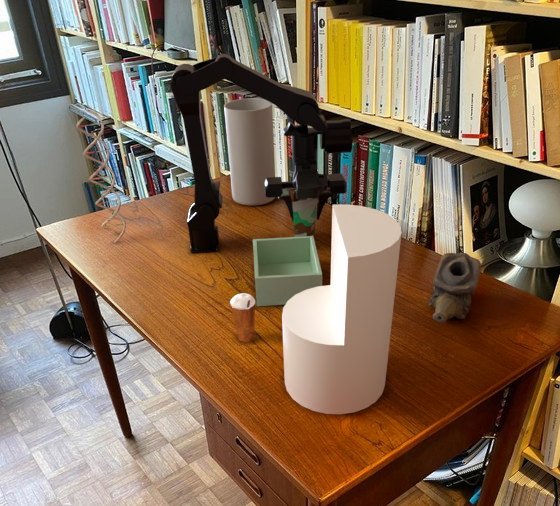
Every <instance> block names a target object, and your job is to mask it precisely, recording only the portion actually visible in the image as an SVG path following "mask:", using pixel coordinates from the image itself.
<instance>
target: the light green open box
mask: <svg viewBox="0 0 560 506" xmlns="http://www.w3.org/2000/svg"><path fill="white" fill-rule="evenodd" d="M252 245H253V247H252V249H253V266H254V267H253V268H254V271H253V272H254V287H255V302H256V307H266V306H267V307H269V306H270V307H271V306H283V305H284V306H285V304H286V303H287V301H288V300H290V299H291V298H292V297H293V296H294V295H296V294H298V293H300V292H302V291H304V290H307V289H310V288H314V287H318V286H323V272H322V266H321V263H320V262H321V261H320V259H319V254H318V250H317V245H316V241H315V237H314V235H312V236H303V237H295V236H287V237H273V238H272V237H269V238H253V239H252Z"/></svg>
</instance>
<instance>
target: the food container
mask: <svg viewBox="0 0 560 506" xmlns="http://www.w3.org/2000/svg"><path fill="white" fill-rule="evenodd" d="M318 202H319V197H318V198H315V199H312V198H305V199H299V198H298V197H297V190H292V206H293V218H294V222H293V231H294V232H293V233H294V237H303V236H314V235H315V233H316V222H317V217H316V211H317V203H318Z"/></svg>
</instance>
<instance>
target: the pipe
mask: <svg viewBox="0 0 560 506" xmlns="http://www.w3.org/2000/svg"><path fill="white" fill-rule="evenodd" d="M481 272H482V262H481V261H480V260H479V259H478V258H475V257H472V256H471V255H470V254H468V253H466V252H447V253H444V254H442V256H441V257H440V259H439V262H438V265H437V269H436V272H435V274H434V277H433V281H432V284H433V289H432V293H433V294H432V295H431V296H430V298H429V302H428V306H429V307H431V308H435V310H434V311H435V312H434V313H433V314H432V319H433V320H434V321H435V322H437V323H438V324H445V323H446V321H448V320H449V319H452V318H454V317H455V318H456V319H459V320H465V318H466V316H467V314H468V313H469V308H470V306H471V305H472V296H473V295H474V294H475V291H476V289H477V287H478V284H479V280H480V276H481Z"/></svg>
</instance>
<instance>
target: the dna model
mask: <svg viewBox="0 0 560 506" xmlns="http://www.w3.org/2000/svg"><path fill="white" fill-rule="evenodd" d="M89 113H90V114H92V115H94V117H96V118H97V120H98V121H99V122H96V123H91V124H82V125H80V124H81V123H82V122H83V121H84V120H85V116H83V117H82V118H81V119H79V120H78V121H77V123H76V125H74V127H75V128H76V129H77V130H78V131H79V132H81V133H83V134H84V135H87V136H89V137H90V138H93V141H92V142H91V143H90V144H89V145H88V146H87V147H86V148H85V149H84V151H82V155H83V156H84V157H85V158H86V159H89V160H91V161H93V162H95V163H98V164H100V166H99V167H98V168H97V169H96V170H95V171H94V172H93V173H92V174H91V175H90V176H89V177H88V178H87V179H88V180H89V182H91V183H93V184H95V185H97V186H100V187H102V188H104V189H105V191H104V193H103V195H102V196H100V197H99V198H98V199H97V200H96V201H95V205H96V206H97V207H99V208H101V209H104V210H108V211H110V212H111V215H110V216H109V218H108V219H106V220H105V221H104V222H103V223H102V224H101V225H100V228H102V229H103V230H108V231H110V232H113V233H116V234H119V231H118V230H115V229H113V228H110V227H115V226H123V227H122V231H121V233H120V234H119V236H118V237H117V238H116V239H115V240H114V241H113V242H114V243H115V244H116V243H117V242H119V241H120V240H121V238H122V237H123V236H124V234H125V233H126V228H127V223H126V220H125V218H124V217H123V215H122V214H120V213H119V212H120V210H121V207H122V202H121V197H120V195H119V194H118V193H117V192H116V191H115V190H114V186H115V185H116V174H115V172H114V170H113V169H112V167H110V166H109V165H107V163H109V160H110V156H111V152H110V150H111V148H110V147H109V146H108V144H107V143H106V142H105V141H104V140H102V139H101V138H102V135H103V133H104V129H105V125H104V121H103V119H102V118H101V116H100V115H98V113H97V112H94V111H93V110H91V109H90V110H89ZM99 125H100V131H99V132H98V135H94V134H92V133H90V132H87V131H86V130H84V129H82V128H83V127H88V126H99ZM97 142H100V143H101V145H102V146H104V148H105V149H104V150H98V151H97V150H96V152H95V151H89V150H90V149H91V148H92V147H93V146H95V144H96V143H97ZM88 151H89V152H88ZM103 152H106V157H105V161H100V160H98V159H96V158H94V156H89V155H90V154H95V153H103ZM104 168H105V169H106V170H107V171H108V172H110V173H111V175H105V176H103V179H108V178H112V183H111V184H110V186H108V185H105V184H103V183H100V182H99V181H96V180H100V179H101V177H95V176H97V175H98V174H99V173H100V172H101V171H102V170H103V169H104ZM94 177H95V178H94ZM110 193H112V194H114V196H115V197H116V199H114V200H110V201H109V200H108V201H102V200H104V198H106V197H107V196H108V195H109V194H110ZM114 202H118V204H117V207H116V210H115V209H113V208H110V207H108V206H105V205H102V204H107V203H114ZM116 216H118V217H119V218H120V219H121V221H122V223H116V224H109V225H107V224H108V223H110V222H111V221H112V220H113V219H114V218H115V217H116Z"/></svg>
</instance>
